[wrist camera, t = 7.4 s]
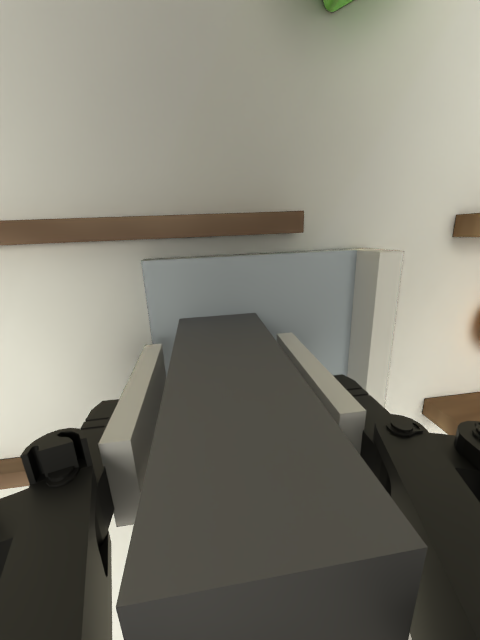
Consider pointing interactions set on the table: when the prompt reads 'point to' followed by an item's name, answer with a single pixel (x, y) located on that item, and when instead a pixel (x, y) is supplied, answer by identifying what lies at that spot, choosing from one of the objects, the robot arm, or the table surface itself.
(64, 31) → the table surface
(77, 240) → the rails
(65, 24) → the table surface
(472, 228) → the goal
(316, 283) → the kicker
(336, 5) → the ink box
